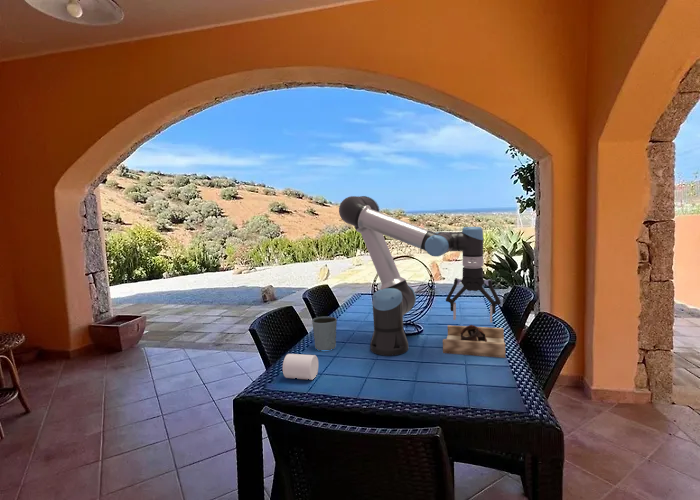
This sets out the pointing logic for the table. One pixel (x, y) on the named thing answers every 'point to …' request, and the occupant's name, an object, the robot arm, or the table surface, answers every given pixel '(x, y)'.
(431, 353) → the table surface
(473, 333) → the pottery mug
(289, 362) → the white cylinder
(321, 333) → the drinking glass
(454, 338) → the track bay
